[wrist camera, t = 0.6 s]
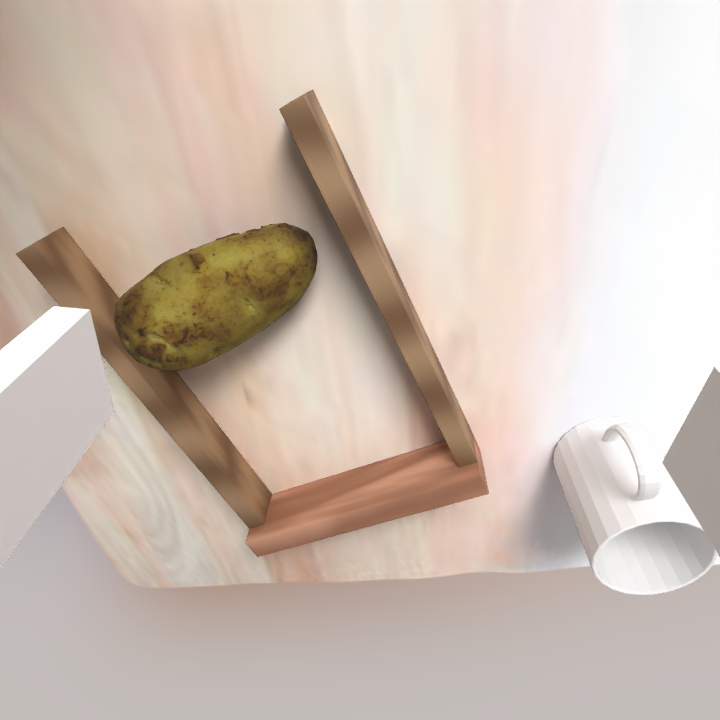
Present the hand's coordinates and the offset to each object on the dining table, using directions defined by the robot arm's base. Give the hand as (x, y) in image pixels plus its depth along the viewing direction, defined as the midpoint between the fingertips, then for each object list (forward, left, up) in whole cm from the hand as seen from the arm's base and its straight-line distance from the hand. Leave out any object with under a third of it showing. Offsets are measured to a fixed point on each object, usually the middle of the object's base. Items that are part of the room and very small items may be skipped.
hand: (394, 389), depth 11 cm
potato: (+2, -13, -24) cm, 28 cm away
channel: (+8, -13, -24) cm, 29 cm away
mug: (+26, +7, -24) cm, 36 cm away
